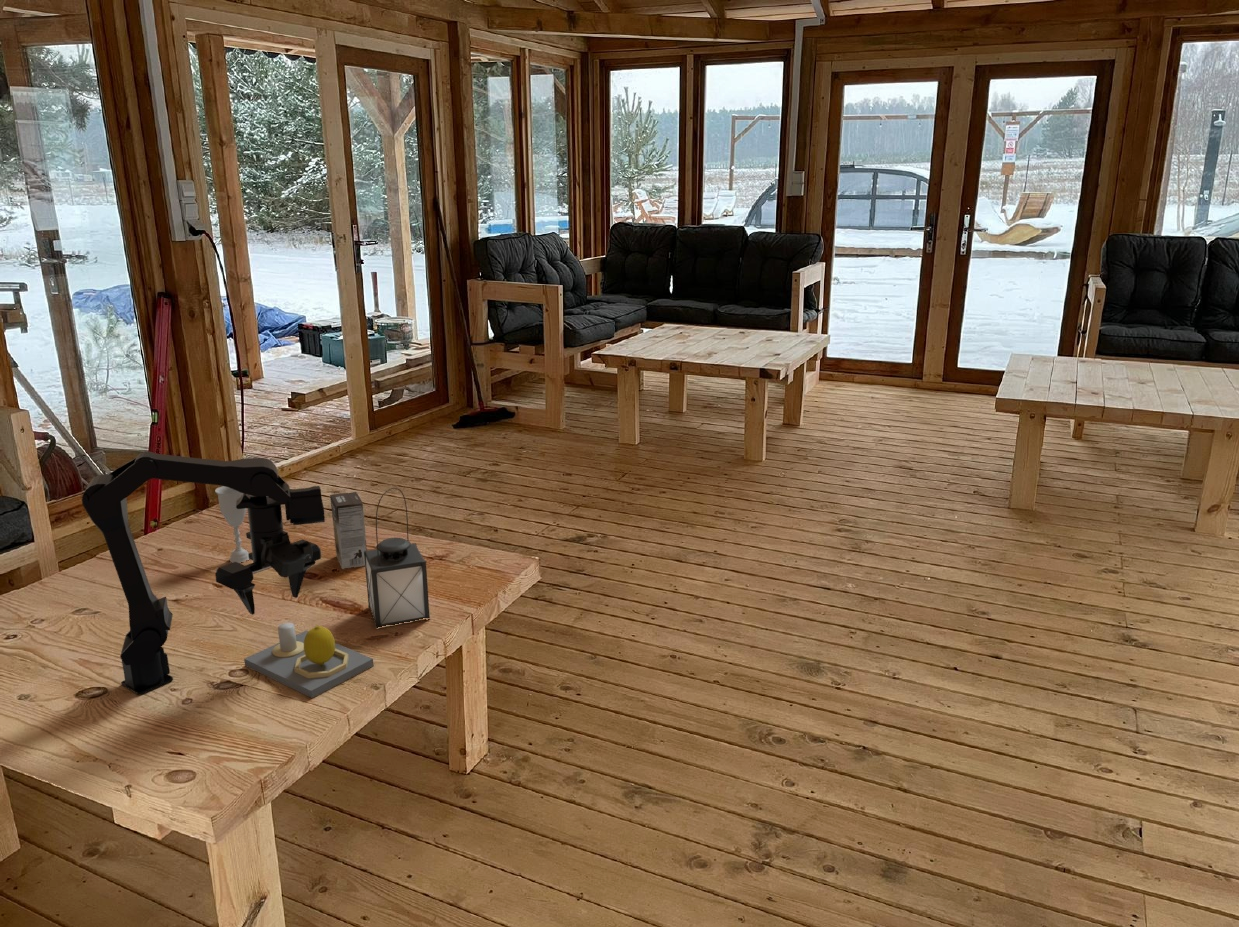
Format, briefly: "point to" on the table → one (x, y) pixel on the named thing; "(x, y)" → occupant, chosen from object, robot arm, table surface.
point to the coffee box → (349, 529)
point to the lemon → (319, 645)
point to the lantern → (396, 581)
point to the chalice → (233, 519)
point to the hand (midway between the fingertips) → (274, 605)
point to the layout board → (306, 664)
